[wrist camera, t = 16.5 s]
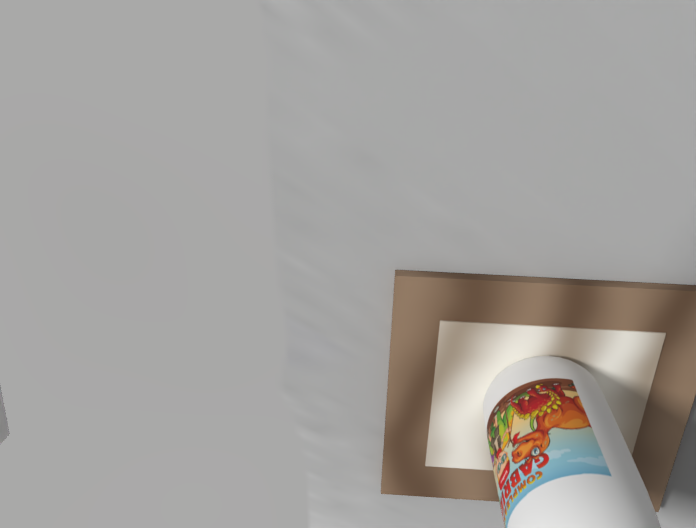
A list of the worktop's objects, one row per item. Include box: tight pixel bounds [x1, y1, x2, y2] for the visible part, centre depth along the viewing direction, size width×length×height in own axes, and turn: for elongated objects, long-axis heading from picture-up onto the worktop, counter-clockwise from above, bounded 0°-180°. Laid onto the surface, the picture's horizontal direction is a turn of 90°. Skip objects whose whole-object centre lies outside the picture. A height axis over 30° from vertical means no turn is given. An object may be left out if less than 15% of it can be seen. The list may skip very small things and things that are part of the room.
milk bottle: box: [483, 356, 661, 528], centre depth 35 cm, size 8×8×20 cm
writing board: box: [381, 270, 696, 512], centre depth 45 cm, size 20×18×1 cm
